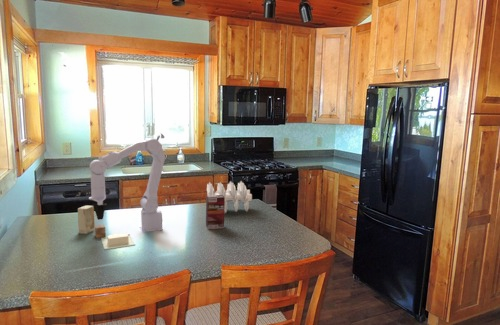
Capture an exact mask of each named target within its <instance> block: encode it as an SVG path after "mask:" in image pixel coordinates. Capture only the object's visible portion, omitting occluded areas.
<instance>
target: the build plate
mask: <svg viewBox="0 0 500 325" xmlns="http://www.w3.org/2000/svg"><path fill="white" fill-rule="evenodd" d="M127 234H128V239H129V243H123V244H117V245H110V246H109V245H108V240H107V236H106V237H100V239H101V242H102V245H103V249H104V251H108V250H113V249H120V248H127V247H133V246H136V244H135V243H134V240H133V238H132V237H131V234H130V233H127Z"/></svg>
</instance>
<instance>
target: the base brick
mask: <svg viewBox="0 0 500 325" xmlns="http://www.w3.org/2000/svg"><path fill="white" fill-rule="evenodd" d="M128 234H129V233H127V232H126V233H119V234H118V233H117V234H110V235H109V234H108V235H106V237H107V240H108V245H109V246H110V245H117V244H123V243H129V239H128Z"/></svg>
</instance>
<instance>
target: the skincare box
mask: <svg viewBox="0 0 500 325" xmlns="http://www.w3.org/2000/svg"><path fill="white" fill-rule="evenodd" d="M77 222H78V226H77V227H78V228H77V229H78V234H85V235H87V234H90V233H91V232H95V226H96V225H95V208H94V207H93V205H86V204H85V205H83V206H81V207H78V208H77Z"/></svg>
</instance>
